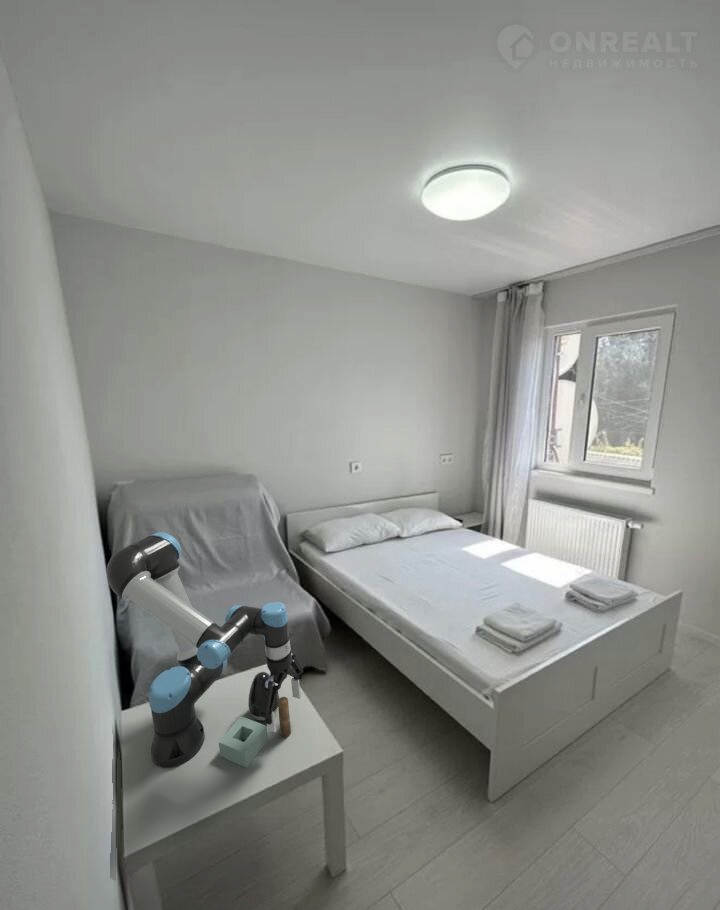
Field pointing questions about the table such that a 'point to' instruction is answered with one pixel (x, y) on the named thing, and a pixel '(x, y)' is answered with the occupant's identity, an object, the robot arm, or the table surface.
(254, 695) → the pump dispenser
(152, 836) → the table surface
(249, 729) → the socket block
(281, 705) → the peg
